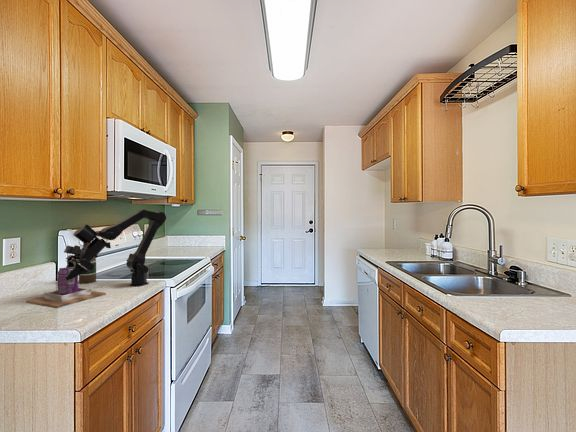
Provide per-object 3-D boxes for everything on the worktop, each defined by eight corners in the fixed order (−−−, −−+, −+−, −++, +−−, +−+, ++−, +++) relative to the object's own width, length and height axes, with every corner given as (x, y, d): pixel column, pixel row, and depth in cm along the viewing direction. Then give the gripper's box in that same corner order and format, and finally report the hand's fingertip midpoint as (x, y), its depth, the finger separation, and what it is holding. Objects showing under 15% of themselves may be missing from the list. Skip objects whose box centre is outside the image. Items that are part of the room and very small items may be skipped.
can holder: (76, 290, 143) (76, 283, 143) (105, 294, 135) (105, 287, 135) (26, 302, 124) (26, 295, 124) (57, 307, 117) (57, 300, 117)
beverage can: (80, 293, 133) (80, 266, 134) (73, 296, 126) (73, 267, 127) (62, 295, 131) (62, 267, 132) (54, 298, 124) (54, 268, 125)
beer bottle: (85, 284, 154) (84, 237, 153) (75, 283, 157) (74, 237, 156) (99, 281, 161) (99, 236, 161) (89, 280, 164) (89, 235, 163)
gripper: (70, 237, 138) (41, 264, 130) (85, 239, 126) (53, 270, 118) (90, 252, 144) (63, 279, 136) (106, 255, 133) (77, 286, 124)
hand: (63, 278), depth 128 cm, fingers closed on beverage can, 7 cm apart
